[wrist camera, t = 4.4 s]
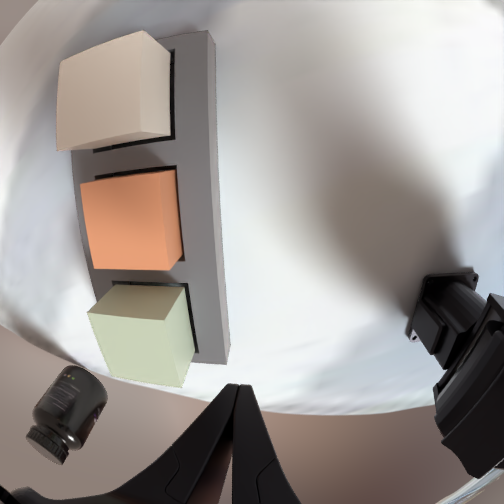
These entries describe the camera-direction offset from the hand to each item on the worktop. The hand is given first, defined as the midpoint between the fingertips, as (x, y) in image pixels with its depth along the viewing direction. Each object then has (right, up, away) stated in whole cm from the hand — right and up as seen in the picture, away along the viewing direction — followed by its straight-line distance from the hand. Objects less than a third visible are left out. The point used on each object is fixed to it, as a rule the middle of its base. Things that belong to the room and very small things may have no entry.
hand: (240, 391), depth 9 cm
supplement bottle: (-20, -11, +18) cm, 29 cm away
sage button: (-7, 0, +10) cm, 12 cm away
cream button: (-7, +14, +5) cm, 17 cm away
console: (-7, +8, +10) cm, 14 cm away
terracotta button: (-7, +8, +9) cm, 14 cm away
